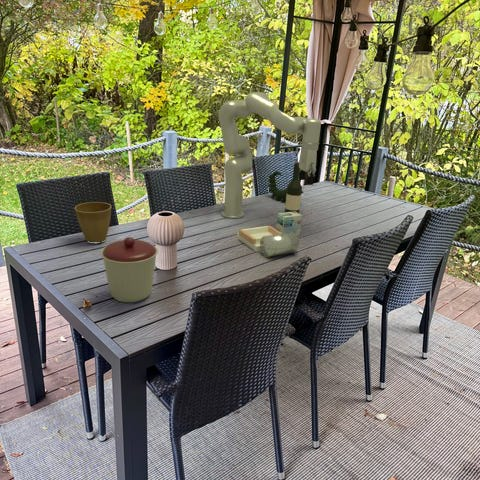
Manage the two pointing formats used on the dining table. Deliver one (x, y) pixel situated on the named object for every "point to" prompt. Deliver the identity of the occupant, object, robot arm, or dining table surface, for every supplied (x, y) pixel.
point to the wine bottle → (294, 192)
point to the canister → (129, 269)
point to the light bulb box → (289, 222)
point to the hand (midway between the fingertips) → (305, 182)
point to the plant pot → (94, 220)
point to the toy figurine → (276, 193)
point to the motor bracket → (269, 240)
